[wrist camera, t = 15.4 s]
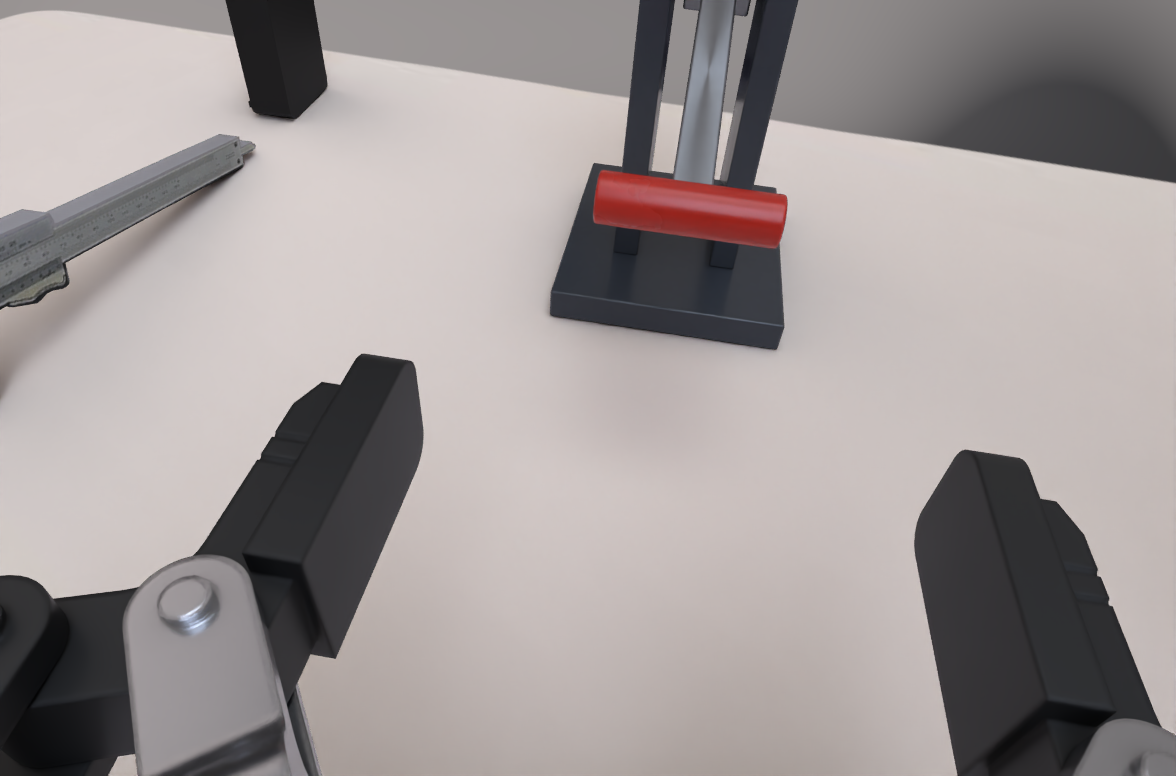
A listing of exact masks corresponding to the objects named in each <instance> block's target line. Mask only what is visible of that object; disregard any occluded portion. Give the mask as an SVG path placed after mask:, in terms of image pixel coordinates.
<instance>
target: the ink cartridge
mask: <svg viewBox="0 0 1176 776" xmlns="http://www.w3.org/2000/svg"><path fill="white" fill-rule="evenodd" d="M226 4H227V8H228V12H229V16H230V21H231V25H232V28H233V32H234V37H235V41H236V45H237V49H238V53H239V57H240V61H241V65H242V69H243V74H244V78H245V82H246V86H247V90H248V94H249V98H250V101H249V106H250V107H252V110H253V111H254V112H255V113H259V114H267V115H275V116H282V117H290V118H297V117H298V116H299V115H300V114H301V113H302V112H303V111H304V110H305V109H306V108H307V107H308V106H309V105H310V104H311V103H312V102H313V101H314V100H315V99H316V98H317V97H318V96H319V95H320V94H321V93H322V92H323V91H324V90H325V89H326V88H327V76H326V71H325V65H324V59H323V53H322V47H321V41H320V36H319V30H318V24H317V18H316V12H315V6H314V0H226Z"/></svg>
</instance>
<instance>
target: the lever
mask: <svg viewBox="0 0 1176 776" xmlns="http://www.w3.org/2000/svg"><path fill="white" fill-rule="evenodd" d="M750 1H751V0H684V5H683V8H684V9H689V10H698V11H699V13H698V20H697V27H696V33H695V40H694V46H693V52H692V58H691V64H690V71H689V78H688V83H687V90H686V96H685V103H684V109H683V115H682V122H681V128H680V134H679V141H678V147H677V154H676V160H675V166H674V173H673V179H667V178H660V177H653V176H645V175H638V174H631V173H623V172H616V171H609V170H601V171H600V173H599V176H598V180H597V186H596V192H595V199H594V209H593V220H594V223H595V224H600V225H607V226H614V227H621V228H628V229H635V230H642V231H649V232H656V233H663V234H670V235H677V236H684V237H691V238H698V239H705V240H713V241H720V242H727V243H734V244H741V245H748V246H755V247H762V248H769V249H776V248H777V247H778V245H779V243H780V240H781V237H782V234H783V230H784V226H785V221H786V214H787V196H786V195H784V194H776V193H769V192H762V191H755V190H747V189H740V188H733V187H725V186H718V185H713V184H714V176H715V168H716V160H717V152H718V144H719V135H720V127H721V119H722V111H723V103H724V95H725V87H726V79H727V71H728V63H729V55H730V47H731V39H732V30H733V23H734V15H739V16H747V14H748V11H749V6H750Z"/></svg>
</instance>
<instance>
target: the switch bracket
mask: <svg viewBox="0 0 1176 776" xmlns="http://www.w3.org/2000/svg"><path fill="white" fill-rule="evenodd" d="M674 3H675V0H640V5H639V14H638V24H637V33H636V42H635V52H634V61H633V71H632V80H631V90H630V99H629V108H628V117H627V127H626V136H625V146H624V155H623V164H622V167H619V166H612V165H605V164H598V163H594V164H593V166H592V169H591V172H590V175H589V178H588V181H587V184H586V187H585V190H584V193H583V196H582V199H581V202H580V205H579V208H578V211H577V214H576V217H575V221H574V224H573V227H572V230H571V233H570V236H569V239H568V242H567V245H566V248H565V251H564V254H563V257H562V260H561V263H560V266H559V269H558V272H557V275H556V278H555V281H554V284H553V287H552V290H551V300H550V314H551V315H552V316H559V317H565V318H572V319H578V320H585V321H592V322H598V323H605V324H611V325H618V326H625V327H631V328H638V329H645V330H651V331H658V332H664V333H671V334H678V335H684V336H691V337H697V338H704V339H711V340H717V341H724V342H730V343H737V344H744V345H750V346H757V347H763V348H770V349H777V348H778V345H779V342H780V339H781V336H782V333H783V330H784V313H783V295H782V278H781V261H780V244H779V245H778V247H777V248H776V249H769V248H762V247H755V246H748V245H741V244H734V243H727V242H720V241H713V240H705V239H698V238H691V237H684V236H677V235H670V234H663V233H656V232H649V231H642V230H635V229H628V228H621V227H614V226H607V225H600V224H595V223H594V220H593V209H594V199H595V192H596V186H597V180H598V176H599V173H600V171H601V170H609V171H616V172H623V173H631V174H638V175H645V176H653V177H660V178H667V179H673V174H671V173H663V172H656V171H652V165H653V157H654V150H655V143H656V135H657V128H658V121H659V113H660V106H661V98H662V91H663V84H664V77H665V69H666V62H667V54H668V47H669V40H670V32H671V25H672V18H673V10H674ZM797 3H798V0H757V1H756V5H755V10H754V15H753V20H752V25H751V30H750V34H749V39H748V44H747V49H746V54H745V59H744V64H743V69H742V73H741V79H740V83H739V88H738V93H737V98H736V103H735V108H734V112H733V117H732V122H731V127H730V132H729V136H728V141H727V146H726V151H725V156H724V161H723V165H722V170H721V175H720V180H715V179H714V184H713V185H718V186H725V187H733V188H740V189H747V190H755V191H762V192H769V193H776V194H777V192H776V188H773V187H766V186H758V185H754V181H755V177H756V173H757V169H758V165H759V161H760V156H761V152H762V148H763V144H764V140H765V136H766V132H767V127H768V123H769V119H770V115H771V111H772V106H773V103H774V98H775V94H776V90H777V86H778V81H779V78H780V74H781V69H782V65H783V61H784V57H785V53H786V49H787V45H788V40H789V36H790V32H791V28H792V24H793V19H794V16H795V12H796V7H797Z"/></svg>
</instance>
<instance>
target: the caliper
mask: <svg viewBox="0 0 1176 776" xmlns="http://www.w3.org/2000/svg"><path fill="white" fill-rule="evenodd" d="M255 147H256V145H255V144H253V143H252V142H250V141H242V140H240V139H239V137H237V136H230V135H222V134H219V135H216V136H214V137H212V138H210V139H207V140H205V141H203V142H201V143H198V144H196V145H194V146H192V147H189V148H187V149H185V150H182V151H180V152H178V153H176V154H173V155H171V156H169V157H167V158H164V159H162V160H160V161H158V162H156V163H153V164H151V165H149V166H147V167H145V168H142V169H140V170H138V171H136V172H133V173H131V174H129V175H127V176H125V177H122V178H120V179H118V180H116V181H114V182H111V183H109V184H107V185H105V186H103V187H100V188H98V189H96V190H94V191H91V192H89V193H87V194H85V195H83V196H80V197H78V198H76V199H74V200H72V201H69V202H67V203H65V204H63V205H61V206H58V207H56V208H54V209H52V210H49V211H47V212H38V211H31V210H23V209H22V210H19V211H17V212H14V213H12V214H9V215H7V216H4V217H2V218H0V310H1V309H2V308H4V307H6V306H8V307H18V306H24V305H30V304H36V303H38V302H39V301H41V300H42V299H43V297H44V296H45V295H46V294H47V293H49V292H51V291H53V290H59V289H63V288H65V287H67V286H68V285H69V281H70V280H69V276H68V272H67V268H66V264H65V263H66V262H68V261H70V260H71V259H73V258H75V257H77V256H79V255H81V254H82V253H84V252H86V251H88V250H90V249H92V248H93V247H95V246H97V245H99V244H101V243H102V242H104V241H106V240H108V239H110V238H112V237H113V236H115V235H117V234H119V233H121V232H123V231H124V230H126V229H128V228H130V227H132V226H133V225H135V224H137V223H139V222H141V221H143V220H144V219H146V218H148V217H150V216H152V215H154V214H155V213H157V212H159V211H161V210H163V209H165V208H166V207H168V206H170V205H172V204H174V203H176V202H178V201H180V200H181V199H183V198H185V197H187V196H189V195H191V194H193V193H195V192H197V191H198V190H200V189H202V188H204V187H206V186H208V185H210V184H212V183H213V182H215V181H217V180H219V179H221V178H223V177H225V176H227V175H229V174H230V173H232V172H234V171H236V170H238V169H240V168H242V167H243V166H244V164H243V155H244V154H247V153H249V152H251V151H253V150H254V149H255Z"/></svg>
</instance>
